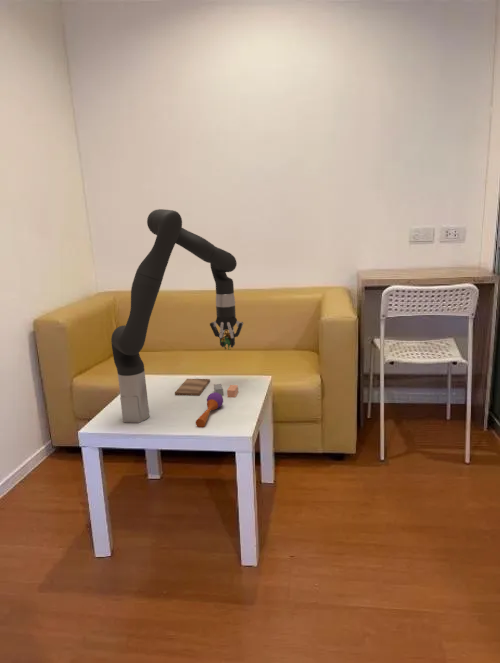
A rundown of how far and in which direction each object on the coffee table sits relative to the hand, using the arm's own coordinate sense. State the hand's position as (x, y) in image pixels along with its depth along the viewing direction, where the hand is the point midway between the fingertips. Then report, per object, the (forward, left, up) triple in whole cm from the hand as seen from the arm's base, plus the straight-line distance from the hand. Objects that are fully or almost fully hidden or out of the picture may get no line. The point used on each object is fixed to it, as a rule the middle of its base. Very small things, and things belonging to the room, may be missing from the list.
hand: (227, 346), depth 209 cm
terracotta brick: (-11, -3, -17) cm, 20 cm away
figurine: (0, 0, -1) cm, 1 cm away
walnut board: (-4, +15, -16) cm, 22 cm away
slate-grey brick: (-9, +3, -17) cm, 19 cm away
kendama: (-31, +1, -17) cm, 35 cm away
